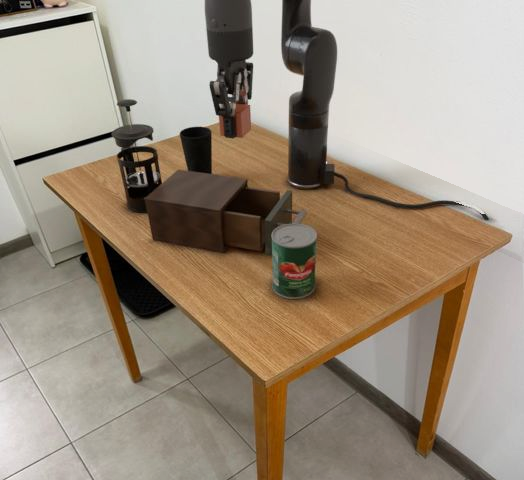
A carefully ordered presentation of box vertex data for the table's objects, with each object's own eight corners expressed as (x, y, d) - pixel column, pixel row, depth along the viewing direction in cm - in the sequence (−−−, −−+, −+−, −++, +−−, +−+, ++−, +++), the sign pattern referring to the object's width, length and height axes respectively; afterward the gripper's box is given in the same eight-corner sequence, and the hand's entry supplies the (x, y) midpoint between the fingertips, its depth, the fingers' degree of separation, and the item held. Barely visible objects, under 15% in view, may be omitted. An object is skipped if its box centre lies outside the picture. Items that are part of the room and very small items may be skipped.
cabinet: (249, 219, 113) (247, 178, 107) (223, 253, 103) (219, 210, 97) (183, 209, 118) (178, 169, 111) (152, 240, 108) (144, 198, 101)
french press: (175, 205, 119) (159, 101, 104) (140, 218, 115) (117, 112, 100) (150, 188, 126) (132, 89, 111) (116, 200, 122) (92, 99, 106)
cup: (214, 186, 126) (209, 137, 118) (184, 187, 126) (177, 138, 118) (217, 173, 132) (212, 126, 124) (188, 174, 132) (181, 126, 124)
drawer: (310, 227, 108) (311, 193, 103) (291, 259, 99) (291, 224, 94) (226, 214, 114) (224, 180, 108) (201, 243, 105) (196, 209, 99)
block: (251, 129, 94) (250, 104, 91) (242, 138, 91) (240, 112, 88) (229, 127, 95) (228, 102, 92) (220, 135, 92) (218, 110, 89)
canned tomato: (294, 269, 98) (295, 218, 91) (323, 287, 94) (326, 234, 86) (263, 286, 95) (261, 234, 87) (292, 305, 90) (293, 252, 83)
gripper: (232, 35, 76) (239, 149, 87) (266, 16, 85) (268, 121, 97) (188, 32, 78) (200, 144, 89) (225, 14, 87) (232, 117, 99)
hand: (236, 132), depth 93 cm, fingers closed on block, 4 cm apart
